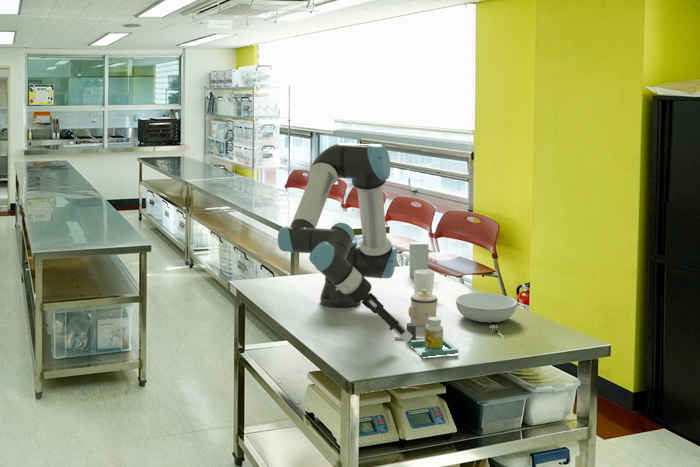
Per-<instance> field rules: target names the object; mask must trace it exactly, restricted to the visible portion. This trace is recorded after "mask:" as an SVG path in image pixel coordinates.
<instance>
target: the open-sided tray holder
mask: <svg viewBox="0 0 700 467" xmlns="http://www.w3.org/2000/svg"><path fill="white" fill-rule="evenodd" d="M443 345H444V346H445V347H447V348H448V349H442V350H429V351H427V350H426V349H425V340H412V341H410V347H411V346H412V347H413V348H414V349H415V350H416V351H417V352H418V353H419V354H420V355H421V356H422V357H428V356H436V355H447V354H455V353H458V354H459V349H458V348H457V347H456V346H455V345H453V344H452V343H451V342H450V341H448V340H447V338H445V337H443ZM421 356H420V357H421ZM422 357H421V358H422Z"/></svg>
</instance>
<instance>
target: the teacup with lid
mask: <svg viewBox="0 0 700 467" xmlns="http://www.w3.org/2000/svg"><path fill="white" fill-rule="evenodd" d="M410 300H411V301H410V304H411V305H410V306H409V307H408V316H409V318H410V323H416V326H419V327H425V326H426V324H428V322H427V321H428V318H429V317H437V309H438V308H437V305H438V304H437V302H438V297H437V295H435V294H433V293H432V294H430V293H429V292H427V290H426V289H422V290H421V292H419V293H417V294H412V295H411V296H410Z"/></svg>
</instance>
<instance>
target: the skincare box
mask: <svg viewBox="0 0 700 467" xmlns="http://www.w3.org/2000/svg"><path fill="white" fill-rule="evenodd" d="M419 269H426V270H429V242H428V241H409V276H410V277H409V278H414V271H415V270H419Z"/></svg>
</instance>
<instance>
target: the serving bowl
mask: <svg viewBox="0 0 700 467" xmlns="http://www.w3.org/2000/svg"><path fill="white" fill-rule="evenodd" d="M455 303H456V308H457V310H458V311H459V314H461V315H462V316H463V317H464V318H466V319H468V320H471V321H474V322H477V321H478V323H482V322H488V323H487V324H492V323H491V322H494V323H499V322H504V321H506V320H509V319H510V318H511V317H512V316H513V315H514V313H515V312H516V310H517V305H518V302H517V300H516V299H515V298H513V297H510V296H507V295H503V294H499V293H492V292H491V293H489V292H472V293H471V292H470V293H464V294H461V295H459V296H456V299H455Z"/></svg>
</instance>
